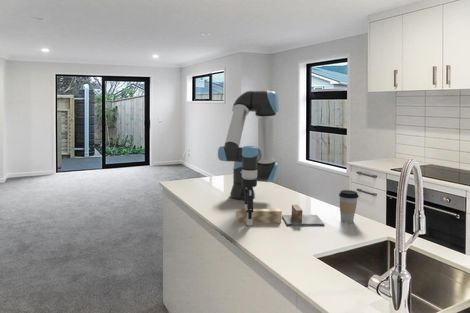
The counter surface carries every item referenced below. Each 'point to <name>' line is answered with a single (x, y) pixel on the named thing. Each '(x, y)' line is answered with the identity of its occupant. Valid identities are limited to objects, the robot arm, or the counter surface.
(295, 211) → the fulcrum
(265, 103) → the robot arm
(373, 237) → the counter surface
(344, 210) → the coffee cup
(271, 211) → the beech bar
